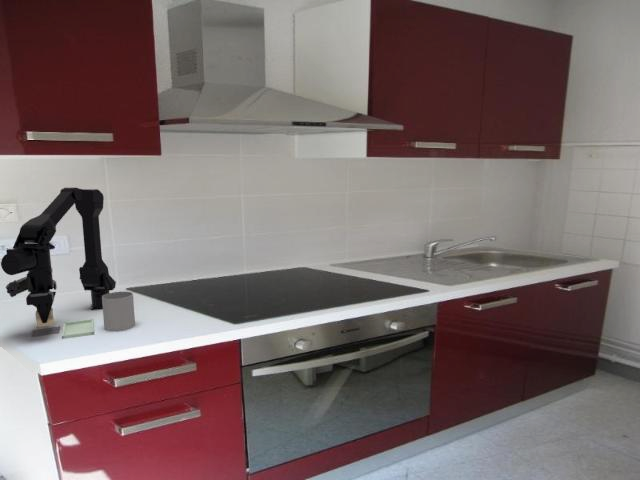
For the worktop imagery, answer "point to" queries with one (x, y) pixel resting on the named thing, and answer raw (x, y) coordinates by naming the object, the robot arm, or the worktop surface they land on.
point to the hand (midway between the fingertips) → (45, 320)
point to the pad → (45, 331)
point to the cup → (118, 311)
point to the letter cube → (49, 321)
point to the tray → (78, 328)
